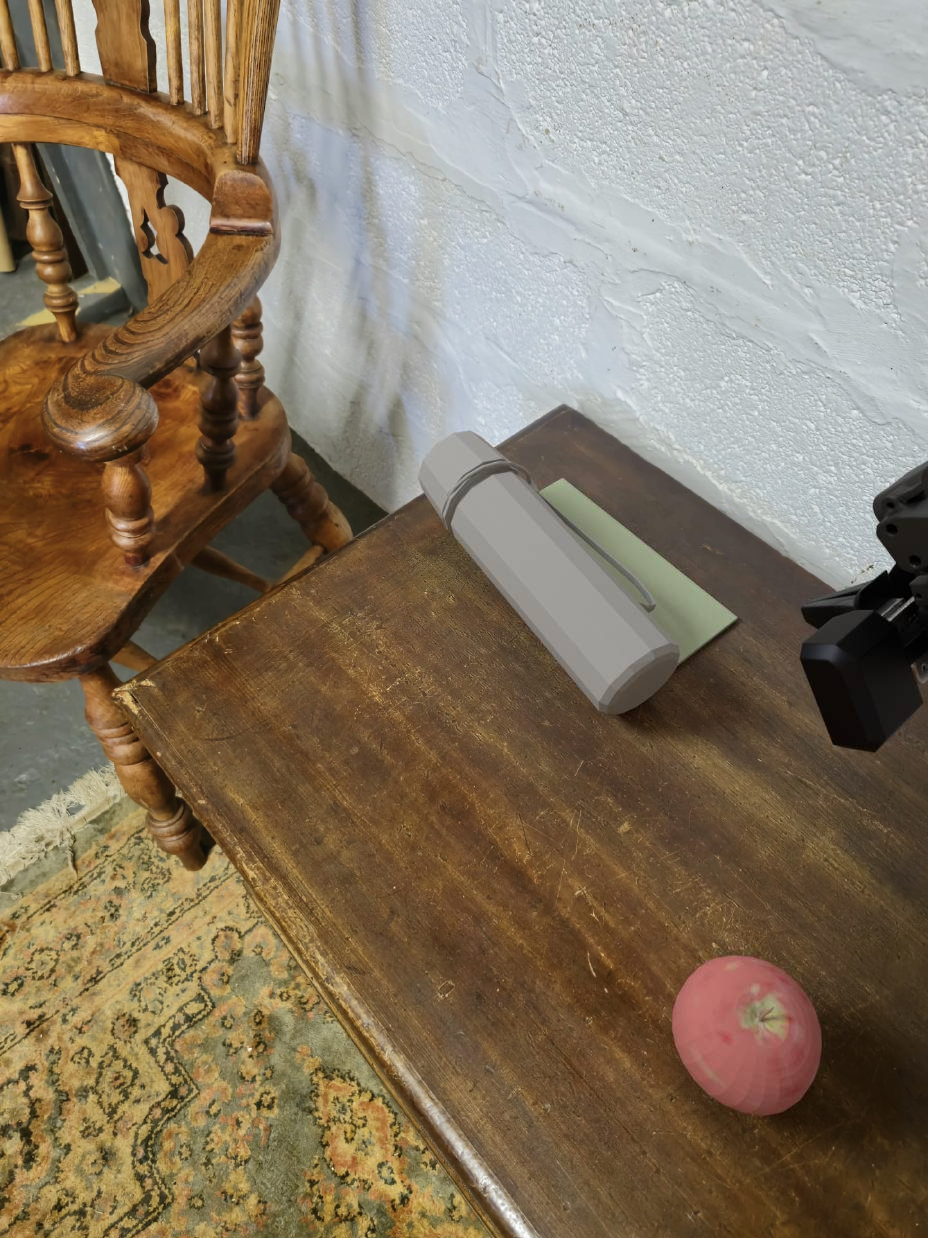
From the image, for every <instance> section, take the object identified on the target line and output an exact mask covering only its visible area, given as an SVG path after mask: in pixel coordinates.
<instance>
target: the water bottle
mask: <svg viewBox="0 0 928 1238" xmlns="http://www.w3.org/2000/svg"><path fill="white" fill-rule="evenodd" d="M518 470H519V471H521V473H523V474H524V475H525V476H526V479H524V477H522V476H520V475H519V471H518ZM417 479H418V481H419V484H420V488H421V490H422V492H423V493H424V494H425V496H426V498H427V499H428V501H429V502H430V504H431V505H432V507H433V508H434V510H435V512H436V513H437V514H438V516H439V518H440V519H441V521H442V525H443V527H444V528H445V529H446V530H447V531H448V533H450V534H453V536H454V538H455V539H456V541H457V542H458V543H459V544H460V545H461V547H462V548H463V549H464V551H465V552H466V553H467V554H468V555H469V556H470V557H471V559H472V560H473V561H474V562H475V564H476V565H477V566H478V567H479V568H480V569H481V570H482V572H483V573H484V574H485V576H486V577H487V579H489V580H490V582H491V583H492V584H493V585H494V586H495V588H496V589H497V591H499V593H500V594H501V595H502V597H504V598H505V599H506V602H508V603H509V604H510V606H511V607H512V608H513V609H514V611H515V612H516V613H517V614H518V615H519V617H520V618H521V619H522V620H523V621H524V623H525V624H526V625H527V626H528V628H529V629H530V630H531V631H532V632H533V633H534V634H535V636H536V637H537V638H538V639H539V641H540V642H541V643H542V644H543V645H544V647H545V648H546V649H547V651H548V652H549V653H550V654H551V656H553V658H554V659H555V660H556V661H557V663H558V664H559V665H560V666H561V668H562V669H563V670H564V671H565V672H566V673H567V674H568V676H569V677H570V678H571V680H572V681H573V682H574V683H575V684H576V685H577V687H578V688H579V689H580V690H581V691H582V693H583V694H584V695H585V697H587V699H588V700H589V702H591V703H592V705H593V706H594V707H595V708H596V709H597V711H598V712H599V713H603V714H606V715H617V716H618V715H621V714H624V713H626V712H628V711H630V710H634V709H635V708H637V707H639V706H640V705H642V703H644V702H646V701H647V700H649V699H650V698H651V697H653V696H654V695H655V693H657V692H658V691H659V690H660V689H661V688H662V687H663V686H664V685H666V683H668V681H669V680H670V678H671V676H672V675H673V674H674V672H675V671H676V669H677V667H678V666H677V664H678V660H679V656H680V651H679V645H678V644H677V643H676V642H675V641H674V640H673V639H672V638H671V637H670V636H669V635H668V634H667V632H666V631H665V630H664V629H663V628H662V627H661V626H660V625H659V624H658V623H657V622H656V621H655V620H654V618H653V617H652V616H651V615H650V614H649V612H651V611H652V610H654V608H655V606H656V602H655V601H654V599H653V597H652V596H651V594H650V592H649V591H648V590H647V589H646V587H645V586H644V585H643V584H642V583H641V581H640V580H639V579H638V578H637V577H636V576H635V575H634V574H632V573H631V572H630V571H629V570H628V569H627V568H625V567H624V566H623V565H622V564H621V563H620V562H619V561H617V560H616V559H615V558H614V557H613V556H612V555H610V554H609V553H608V552H607V551H606V550H605V549H603V548H602V547H601V546H600V545H599V544H598V543H597V542H595V541H594V540H593V539H592V538H591V537H590V536H588V535H587V534H586V533H585V532H584V531H583V530H581V529H580V528H579V527H578V526H577V525H576V524H574V523H573V522H572V521H571V520H570V519H569V518H568V517H566V516H565V515H564V514H563V513H562V512H561V511H559V510H558V509H557V508H556V507H555V506H554V505H552V504H551V503H550V502H549V501H548V500H547V499H546V498H544V497H543V496H542V495H541V494H540V493H539V491H540V489H538V487H537V484H535V482H534V480H533V478H532V473H531V472H529V471H528V470H527V468H525V466H523V465H520V464H518V463H516V462H514V461H510V460H509V459H508V458H507V457H506V456H504V455H503V454H502V453H501V452H500V451H499V450H498V449H496V448H495V447H494V446H492V445H491V444H490V443H489V442H488V441H487V440H486V439H485V438H483V437H482V436H481V435H479V434H477V433H475V432H474V431H472V430H464V431H458V432H453V433H451V434H450V435H448V436H446V437H445V438H443V439H442V440H440V441H439V442H436V443H435V444H434V446H433V447H432V448H431V449H430V450H429V452H428V453H427V455H426V456H425V457H424V458H423V459H422V461H421V465H420V469H419V471H418V474H417ZM569 527H570V528H571V529H572V530H573V531H574V532H575V533H576V534H577V535H579V536H580V537H581V538H582V539H583V540H584V541H585V542H586V543H588V544H589V545H590V546H591V547H592V548H593V549H594V550H595V551H597V552H598V553H599V554H600V555H601V556H602V557H603V558H604V559H606V560H607V561H608V562H609V563H610V564H611V565H612V566H613V567H615V568H616V569H617V570H618V571H619V572H620V573H621V574H623V575H624V576H625V577H626V578H627V579H628V580H629V581H630V582H632V583H633V584H634V585H635V587H636V588H637V589H638V590H639V591H640V593H641V594H642V595H643V596H644V598H645V599H646V600H647V602H648V604H649V605H645V604H642V603H639V602H638V601H637V600H636V599H635V598H634V597H633V596H632V595H631V594H630V593H629V592H628V591H627V589H626V588H625V587H624V586H623V585H622V584H621V583H620V582H619V581H618V580H617V579H616V578H615V577H614V575H613V574H612V573H611V572H610V571H609V570H608V569H607V568H606V567H605V566H604V565H603V564H602V563H601V562H600V560H599V559H598V558H597V557H596V556H595V555H594V554H593V553H592V552H591V551H590V550H589V549H588V548H587V546H586V545H585V544H584V543H583V542H582V541H581V540H580V539H579V538H578V537H577V536H576V535H575V534H574V533H573V531H572V530H571V529H570V528H569Z"/></svg>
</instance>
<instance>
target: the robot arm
mask: <svg viewBox="0 0 928 1238" xmlns="http://www.w3.org/2000/svg"><path fill="white" fill-rule="evenodd" d="M872 512H873V515H874V516H875V519H876V520H877V522H878V523H877V524H876V528H875V536H876V538H877V539H878V540H879V542H880V543H881V545H882V546H883V547H884V549H885V550H886V552H887V553H888V554H889V555H890V557H891V558H892V559H893V561H894V562H895V563H894V565H893V566H892V568H891V569H890V571H888V570H887V569H884V570H882V572H880V573H879V574H878V575H876V577H874V578H873V579H870V580H867V581H865V582H862V583H858V584H856V585H853V586H849V587H846V588H844V589H841V590H837V591H835V592H831V593H829V594H825V595H823V596H820V597H817V598H813V599H811V600H809V601H807V602H806V603H805V604H803V605H802V606H801V607H800V612H801V615H802V617H803V620H804V622H805V623H807V624H808V625H809V626H812V627H813V628H814V629H816V631H814V633H812V634H811V635H810V636H808V638H807V639H805V640H804V641H803V642H802V644H801V649H800V653H799V661H800V664H801V666H802V669H803V671H804V674H805V676H806V677H805V678H806V679H807V681H808V685H809V687H810V689H811V692H812V696H813V697H814V700H815V702H816V705H817V707H818V710H819V712H820V715H821V718H822V721H823V723H824V726H825V729H826V731H827V734H828V736H829V739H830V741H831V744H832V745H833V746H835V747H839V748H843V749H849V750H854V751H861V752H867V753H877V752H878V751H879V750H880V749H881V747H883V746H884V745H885V744H886V743H887V742H888V741H889V740H890V739H891V738H893V736H894V735H895V734H896V733H897V732H898V731H899V730H900V729H901V728H902V727H903V726H904V725H905V724H906V723H908V722H909V720H910V719H912V718H913V717H914V715H915V714H916V713H917V712H918V711H919V710H920V708H921V707H922V706H923V705H924V703H925V702H924V699H923V697H922V692H921V691H920V687H919V684H921V685H924V684H925V683H926V682H927V681H928V460H926V461H925V462H923V463H921V464H919V465H918V466H915V467H914V468H912V469H911V470H909V471H907V472H906V473H904V474H903V476H901V477H900V478H898V479H897V480H895V481H894V482H893V483H892V484H891V485H889V486H888V487H886V488H885V489H884V490H882V491H881V492H879V493H878V494H877V495H876V496H875V497H874V498H873V501H872Z"/></svg>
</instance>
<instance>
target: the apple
mask: <svg viewBox="0 0 928 1238" xmlns="http://www.w3.org/2000/svg"><path fill="white" fill-rule="evenodd" d="M671 1015H672V1016H671V1031H672V1035H673V1040H674V1047H675V1049H676V1050H677V1053H678V1055H679V1057H680V1060H681V1061H682V1064H683V1065H684V1067H685V1069H686V1070H687V1071H688V1073H689V1075H690V1076H691V1077H692V1079H693V1081H695V1083H696V1084H698V1086H699V1087H701V1089H703V1091H704V1092H705V1093H706V1094H707V1095H708V1096H710V1097H711V1098H713V1099H715V1100H716V1101H717V1102H718V1103H720V1104H722V1105H723V1106H725V1107H728V1108H731V1109H733V1110H736V1111H738V1112H739V1113H744V1114H748V1115H755V1116H759V1117H760V1116H761V1117H762V1116H763V1117H764V1116H770V1115H775V1114H780V1113H783V1112H785V1111H786V1110H789V1108H791V1107H792V1106H794V1105H795V1104H797V1103H798V1102H800V1100H801V1099H803V1097H804V1095H805V1094H806V1093H807V1091H808V1090H809V1088H810V1087H811V1085H812V1084H813V1082H814V1080H815V1078H816V1075H817V1072H818V1070H819V1067H820V1063H821V1055H822V1050H823V1040H822V1039H823V1037H822V1029H821V1025H820V1021H819V1018H818V1015H817V1011H816V1009H815V1007H814V1006H813V1003H812V1002H811V1000H810V998H809V996H808V995H807V993H806V992H805V991H804V990H803V988H802V987H801V985H800V984H799V982H797V980H795V979H794V978H793V977H791V975H789V974H788V973H787V972H786V971H784V970H783V969H782V968H780V967H778V966H776V965H775V964H773V963H772V962H769V961H767V960H764V959H761V958H757V957H755V956H747V955H737V954H736V955H727V956H719V957H714V958H711V959H710V960H707V962H705V963H703V964H702V965H700V966H698V967H697V969H695V971H693V972H692V973H691V975H689V976H688V978H686V980H685V982H684V984H683V985H682V987H681V989H680V990H679V992H678V994H677V995H676V999H675V1002H674V1006H673V1009H672V1014H671Z"/></svg>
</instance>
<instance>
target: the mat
mask: <svg viewBox="0 0 928 1238" xmlns="http://www.w3.org/2000/svg"><path fill="white" fill-rule="evenodd" d="M539 493H540V494H541V495H542V496H543V497H544V498H546V499H547V500H548V501H549V502H550V503H551V504H552V505H554V506H555V507H556V508H557V509H558V510H559V511H561V512H562V513H563V514H564V515H565V516H566V517H568V518H569V519H570V520H571V521H572V522H573V523H574V524H576V525H577V526H578V527H579V528H580V529H581V530H583V531H584V532H585V533H586V534H587V535H588V536H590V537H591V538H592V539H593V540H594V541H595V542H597V543H598V544H599V545H600V546H601V547H602V548H603V549H605V550H606V551H607V552H608V553H609V554H610V555H612V556H613V557H614V558H615V559H616V560H617V561H619V562H620V563H621V564H622V565H623V566H624V567H625V568H627V569H628V570H629V571H630V572H631V573H632V574H634V575H635V576H636V577H637V578H638V579H639V580H640V581H641V583H642V584H643V585H644V586H645V587H646V589H647V590H648V591H649V592H650V594H651V596H652V597H653V599H654V601H655V602H656V606H655V608H654V610H652V611H651V612H649V614H650V615H651V616H652V617H653V618H654V620H655V621H656V622H657V623H658V624H659V625H660V626H661V627H662V628H663V629H664V630H665V631H666V632H667V634H668V635H669V636H670V637H671V638H672V639H673V640H674V641H675V642H676V643H677V644H678V645H679V651H680V656H679V660H678V664H677V667H678V666H679V665H680V664H682V663H684V662H685V661H686V660H687V659H689V658H690V657H691V656H693V655H694V654H695V653H697V652H698V651H699V650H700V649H701V648H703V647H704V646H706V645H707V644H708V643H710V642H711V641H712V640H713V639H714V638H716V637H718V635H720V634H721V633H723V632H724V631H725V630H726V629H728V628H729V627H730V626H731V625H733V624H734V623H736V622H737V621H738V619H739V617H738V616H737V615H736V614H734V613H733V612H732V611H731V610H730V609H728V608H727V607H725V605H723V604H722V603H721V602H719V601H718V600H716V598H714V597H713V596H712V595H711V594H709V593H708V592H707V591H705V590H704V589H703V588H701V587H700V586H699V585H698V584H696V583H695V582H694V581H693V580H692V579H691V578H690V577H688V576H686V575H685V574H684V573H683V572H682V571H680V570H679V569H677V568H676V567H675V566H674V565H673V564H672V563H670V562H669V561H668V560H667V559H665V558H664V557H663V556H662V555H660V554H659V553H658V552H657V551H655V550H654V549H653V548H652V547H650V546H649V545H648V544H646V543H645V542H644V541H643V540H642V539H640V538H639V537H638V536H637V535H635V534H634V533H633V532H631V531H630V530H629V529H628V528H626V527H625V526H624V525H623V524H621V523H620V522H619V521H618V520H616V519H615V518H614V517H613V516H611V515H610V514H609V513H608V512H606V511H605V510H604V509H603V508H601V507H600V506H599V505H598V504H596V502H594V501H593V500H591V499H590V498H589V497H588V496H586V495H585V494H584V493H582V492H581V491H580V489H578V488H576V487H575V486H574V485H572V483H570V482H569V481H567V480H566V479H565V478H564V477H561V478H560V479H558V480H556V481H554V482H552V483H551V484H550V485H547V486H546V487H544V488H542V489H540V490H539ZM569 528H570V527H569ZM570 529H571V528H570ZM571 530H572V529H571ZM572 531H573V530H572ZM573 533H574V534H575V535H576V536H577V537H578V538H579V539H580V540H581V541H582V542H583V543H584V544H585V545H586V546H587V548H588V549H589V550H590V551H591V552H592V553H593V554H594V555H595V556H596V557H597V558H598V559H599V560H600V562H601V563H602V564H603V565H604V566H605V567H606V568H607V569H608V570H609V571H610V572H611V573H612V574H613V575H614V577H615V578H616V579H617V580H618V581H619V582H620V583H621V584H622V585H623V586H624V587H625V588H626V589H627V591H628V592H629V593H630V594H631V595H632V596H633V597H634V598H635V599H636V600H637V601H638V602H639V603H642V604H645V605H649V604H648V602H647V600H646V599H645V598H644V596H643V595H642V594H641V593H640V591H639V590H638V589H637V588H636V587H635V585H634V584H633V583H632V582H630V581H629V580H628V579H627V578H626V577H625V576H624V575H623V574H621V573H620V572H619V571H618V570H617V569H616V568H615V567H613V566H612V565H611V564H610V563H609V562H608V561H607V560H606V559H604V558H603V557H602V556H601V555H600V554H599V553H598V552H597V551H595V550H594V549H593V548H592V547H591V546H590V545H589V544H588V543H586V542H585V541H584V540H583V539H582V538H581V537H580V536H579V535H577V534H576V533H575V532H574V531H573Z"/></svg>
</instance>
